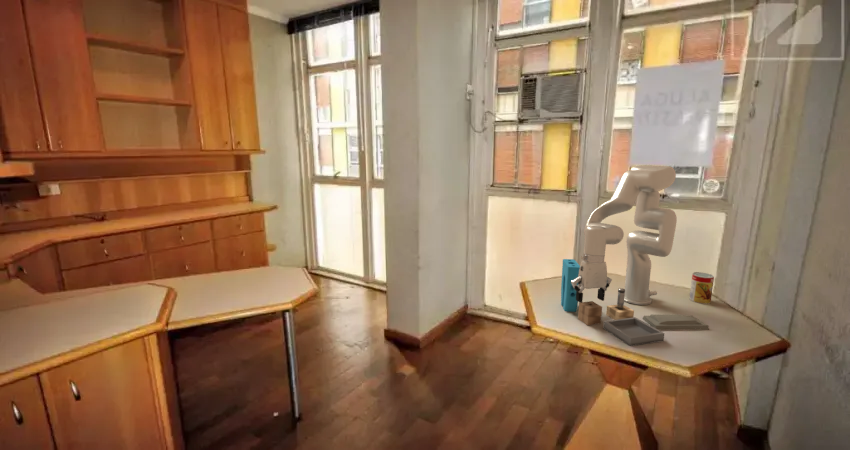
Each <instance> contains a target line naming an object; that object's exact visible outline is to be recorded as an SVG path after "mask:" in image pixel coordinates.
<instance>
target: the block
mask: <svg viewBox="0 0 850 450" xmlns="http://www.w3.org/2000/svg"><path fill="white" fill-rule="evenodd" d="M580 265H581V264H579V263H578V261H576V259H567V258H563V259H562V269H561V284H560V285H561V286H560V305H561V306H562V307H563V308H562V309H563V311H564V312H569V313H576V312H577V310H578V306H579V302H578V301H577V300H576V290H575V289H574V288H573V286H572V283H571V281H572V280H574V279H576V278H577V277H578V274H579V269H580ZM577 286H578V283H577Z"/></svg>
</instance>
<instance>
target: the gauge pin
mask: <svg viewBox="0 0 850 450" xmlns="http://www.w3.org/2000/svg"><path fill="white" fill-rule="evenodd" d="M624 296H625V288H621V287H619V288H618V290H617V302H616V305H617V309H618V310H623V307H624V306H625V301H624Z"/></svg>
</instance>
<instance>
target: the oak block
mask: <svg viewBox="0 0 850 450" xmlns="http://www.w3.org/2000/svg"><path fill="white" fill-rule="evenodd" d="M634 314H635V310H634V309H632V308H630V307H628V306H626V305H624V307H623V310H618V309H617V304H611V305H610V304H609V305H606V311H605V315H606V316H607V317H608V318H611V319H612V320H618V319H625V318H633V317H635V315H634Z"/></svg>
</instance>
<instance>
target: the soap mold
mask: <svg viewBox="0 0 850 450" xmlns="http://www.w3.org/2000/svg"><path fill="white" fill-rule="evenodd" d="M642 320H643V322H645V323H647V324H648V325H650V326H652V327H654V328H656V329H658V330H659V331H668V330H669V331H674V330H676V331H678V330H679V331H680V330H681V331H683V330H684V331H685V330H687V331H688V330H689V331H690V330H692V331H695V330H697V331H698V330H699V331H702V330H703V331H706V330H707V331H708V330H709V329H710V328H709V325H708V324H706V323H705V322H704V321H702V320H700V319H698V318H697V317H696V316H694V315H684V314H678V313H677V314H674V313H673V314H671V313H670V314H666V313H665V314H650V315H643V317H642Z"/></svg>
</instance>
